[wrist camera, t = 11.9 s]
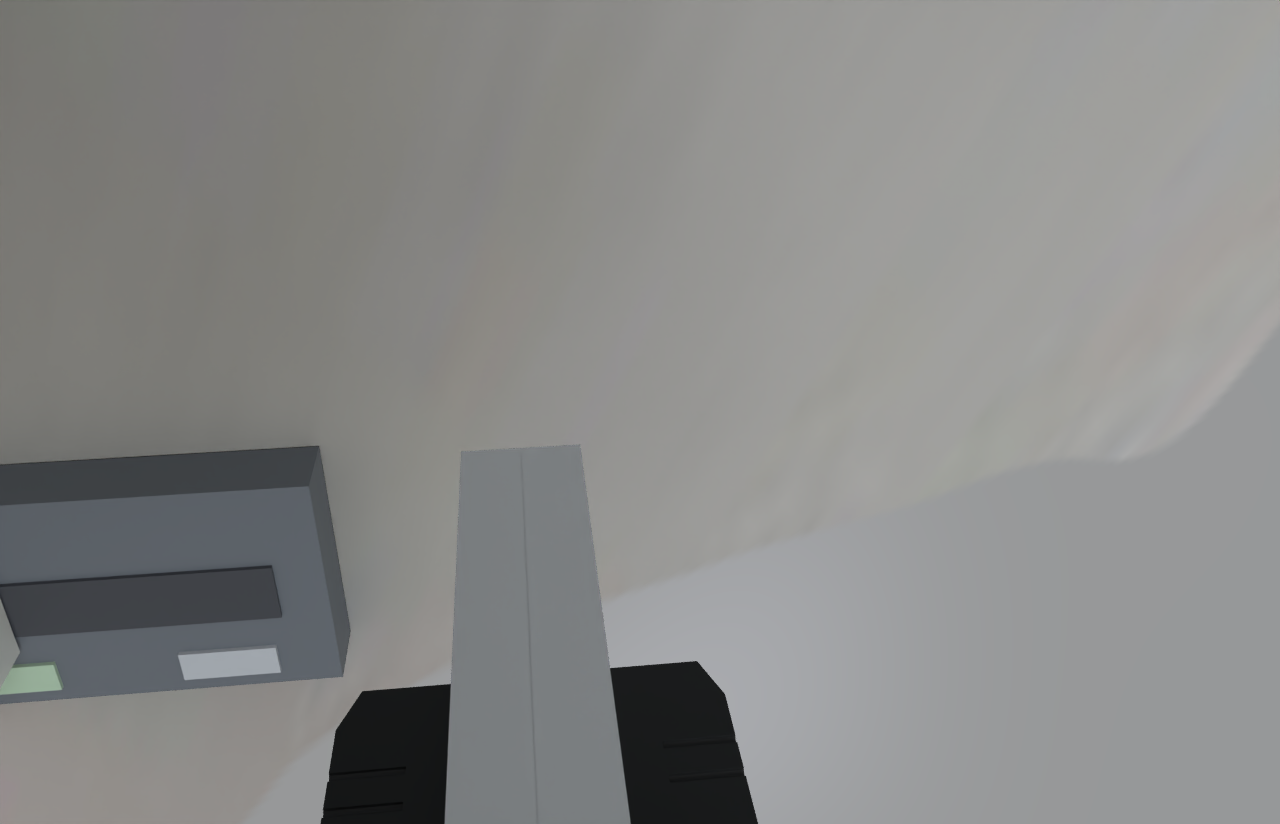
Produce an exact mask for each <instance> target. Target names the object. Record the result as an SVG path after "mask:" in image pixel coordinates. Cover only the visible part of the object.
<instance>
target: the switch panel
mask: <svg viewBox="0 0 1280 824" xmlns="http://www.w3.org/2000/svg"><path fill="white" fill-rule="evenodd" d="M0 599H1V602H2V605H3V607H4V610H5V613H6V615H7V618H8V621H9V624H10V626H11V629H12V632H13V634H14V637H15V640H16V642H17V645H18V648H19V651H20V653H19V655H18V657H17V659H16V661H15V663H14V664H13V666H12V668H11V670H10V672H9V674H8V676H7V677H6V679H5V681H4V683H3V685H2V687H1V689H0V704H8V703H20V702H33V701H45V700H58V699H70V698H83V697H95V696H108V695H120V694H133V693H145V692H158V691H170V690H183V689H195V688H208V687H220V686H233V685H245V684H258V683H270V682H283V681H295V680H308V679H320V678H333V677H343V673H344V667H345V661H346V655H347V649H348V643H349V637H350V625H349V619H348V613H347V608H346V602H345V596H344V590H343V584H342V578H341V572H340V566H339V561H338V555H337V549H336V543H335V537H334V531H333V525H332V519H331V513H330V508H329V502H328V496H327V490H326V484H325V478H324V472H323V466H322V461H321V455H320V449H319V446H316V447H299V448H282V449H265V450H248V451H231V452H214V453H197V454H180V455H163V456H146V457H130V458H113V459H96V460H79V461H62V462H45V463H28V464H11V465H0Z"/></svg>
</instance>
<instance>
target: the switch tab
mask: <svg viewBox="0 0 1280 824" xmlns="http://www.w3.org/2000/svg"><path fill="white" fill-rule="evenodd" d="M19 653H20V651H19V648H18V645H17V642H16V640H15V637H14V634H13V632H12V629H11V626H10V624H9V621H8V618H7V615H6V613H5V610H4V607H3V605H2V602H1V599H0V689H1V687H2V685H3V683H4V681H5V679H6V677H7V676H8V674H9V672H10V670H11V668H12V666H13V664H14V663H15V661H16V659H17V657H18V655H19Z"/></svg>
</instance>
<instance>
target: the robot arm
mask: <svg viewBox="0 0 1280 824" xmlns="http://www.w3.org/2000/svg"><path fill="white" fill-rule="evenodd" d="M743 768H744V767H743V763H742V759H741V756H740V752H739V747H738V744H737V742H736V740H735V732H734V728H733V724H732V720H731V716H730V713H729V708H728V704H727V701H726V697H725V694H724V693H723V692H722V690H721V689H720V688H719V687H718V685H717V684H716V683H715V682H714V681H713V680H712V679H711V677H710V676H709V675H708V674H707V672H706V671H705V670H704V669H703V668H702V667H701V665H700V664H699V663H698V662H697V661H693V662H681V663H669V664H657V665H644V666H632V667H620V668H610V665H609V657H608V650H607V642H606V635H605V627H604V620H603V613H602V605H601V597H600V590H599V582H598V575H597V567H596V560H595V553H594V545H593V538H592V530H591V523H590V515H589V508H588V500H587V493H586V485H585V478H584V470H583V463H582V455H581V448H580V445H563V446H547V447H530V448H513V449H497V450H480V451H464V452H461V467H460V490H459V512H458V535H457V558H456V580H455V603H454V625H453V648H452V670H451V684H447V685H435V686H422V687H410V688H398V689H385V690H373V691H362V693H361V694H360V696H359V697H358V699H357V700H356V701H355V703H354V704H353V706H352V707H351V709H350V710H349V712H348V713H347V715H346V716H345V718H344V719H343V721H342V722H341V724H340V725H339V726H338V728H337V729H336V733H335V739H334V745H333V751H332V758H331V764H330V770H329V782H328V783H327V788H326V795H325V801H324V807H323V814H324V815H323V818H322V819H321V824H758V822H757V818H756V814H755V810H754V806H753V802H752V799H751V795H750V791H749V787H748V783H747V779H746V776H744V769H743Z"/></svg>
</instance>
